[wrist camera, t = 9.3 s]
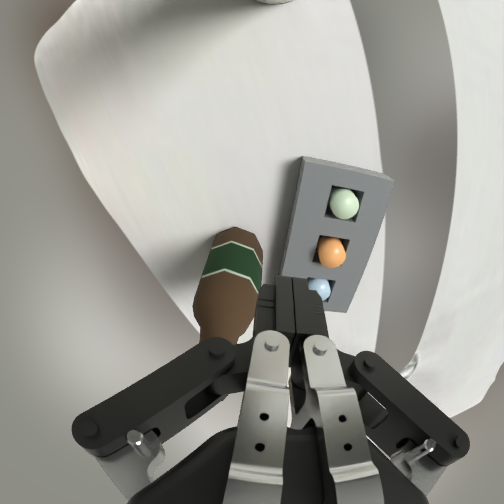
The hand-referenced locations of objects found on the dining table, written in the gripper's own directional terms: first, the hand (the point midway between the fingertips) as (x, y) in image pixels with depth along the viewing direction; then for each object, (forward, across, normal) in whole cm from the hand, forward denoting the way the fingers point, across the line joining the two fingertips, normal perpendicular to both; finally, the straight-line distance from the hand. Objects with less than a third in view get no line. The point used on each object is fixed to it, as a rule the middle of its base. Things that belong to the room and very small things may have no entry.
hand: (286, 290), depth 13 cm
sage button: (+24, -9, +3) cm, 26 cm away
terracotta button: (+23, -9, +10) cm, 27 cm away
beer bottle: (+25, +4, +14) cm, 29 cm away
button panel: (+25, -9, +10) cm, 28 cm away
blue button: (+24, -9, +17) cm, 31 cm away
